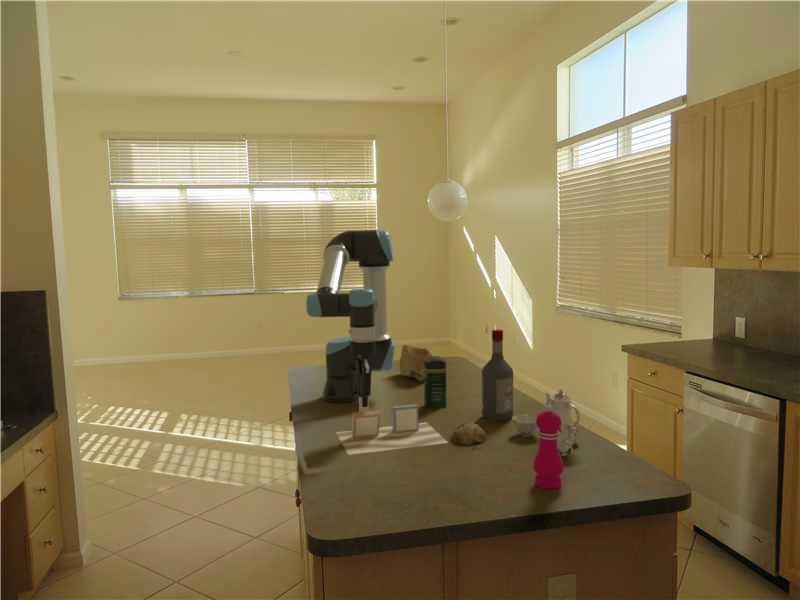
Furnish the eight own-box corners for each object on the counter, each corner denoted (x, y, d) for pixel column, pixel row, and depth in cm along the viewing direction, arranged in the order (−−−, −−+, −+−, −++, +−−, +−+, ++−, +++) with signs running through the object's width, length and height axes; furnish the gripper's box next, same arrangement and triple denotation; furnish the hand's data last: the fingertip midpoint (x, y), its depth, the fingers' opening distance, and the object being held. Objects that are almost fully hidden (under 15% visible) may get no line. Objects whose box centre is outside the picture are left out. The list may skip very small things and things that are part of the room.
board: (335, 436, 179) (335, 432, 179) (426, 425, 187) (426, 422, 187) (348, 458, 160) (348, 454, 160) (448, 446, 168) (448, 442, 168)
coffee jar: (448, 410, 204) (447, 359, 202) (426, 411, 203) (425, 360, 201) (444, 403, 213) (444, 354, 212) (423, 403, 213) (422, 354, 211)
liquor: (516, 416, 196) (516, 330, 193) (501, 423, 189) (501, 333, 186) (493, 411, 202) (493, 327, 199) (478, 417, 195) (478, 330, 192)
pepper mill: (529, 478, 145) (529, 401, 143) (557, 477, 146) (557, 400, 144) (538, 490, 138) (539, 410, 136) (567, 489, 138) (568, 408, 136)
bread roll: (460, 461, 167) (466, 440, 163) (443, 437, 175) (449, 417, 171) (488, 454, 171) (495, 434, 168) (470, 431, 179) (476, 412, 175)
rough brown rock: (450, 384, 245) (452, 349, 244) (414, 384, 239) (416, 349, 239) (429, 374, 267) (431, 342, 266) (396, 374, 261) (397, 342, 260)
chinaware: (503, 437, 180) (498, 387, 178) (546, 425, 186) (542, 375, 184) (560, 469, 154) (556, 410, 152) (608, 453, 161) (604, 397, 158)
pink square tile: (351, 433, 175) (352, 412, 172) (376, 431, 177) (378, 410, 174) (353, 438, 173) (354, 417, 170) (378, 435, 175) (380, 414, 172)
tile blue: (392, 431, 179) (391, 406, 178) (416, 428, 181) (416, 404, 180) (394, 433, 177) (393, 408, 176) (418, 430, 179) (418, 406, 178)
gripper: (346, 337, 178) (348, 411, 180) (354, 344, 165) (356, 423, 168) (369, 336, 180) (371, 409, 182) (379, 342, 167) (381, 421, 170)
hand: (364, 416), depth 175 cm, fingers closed
